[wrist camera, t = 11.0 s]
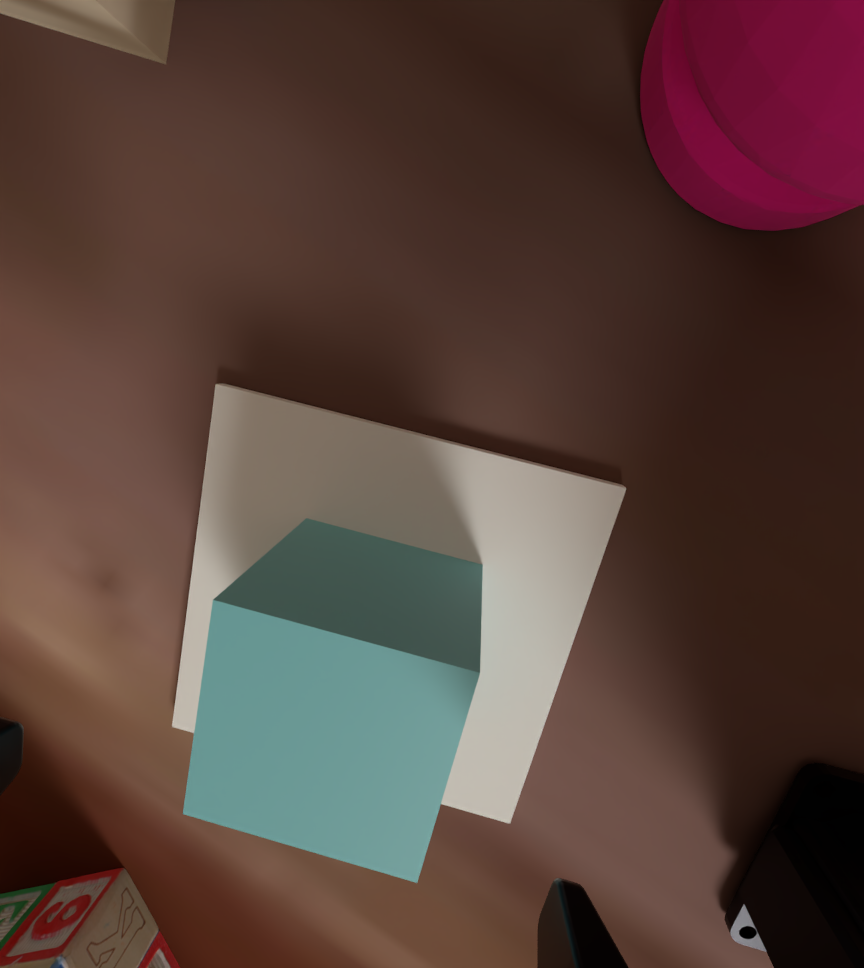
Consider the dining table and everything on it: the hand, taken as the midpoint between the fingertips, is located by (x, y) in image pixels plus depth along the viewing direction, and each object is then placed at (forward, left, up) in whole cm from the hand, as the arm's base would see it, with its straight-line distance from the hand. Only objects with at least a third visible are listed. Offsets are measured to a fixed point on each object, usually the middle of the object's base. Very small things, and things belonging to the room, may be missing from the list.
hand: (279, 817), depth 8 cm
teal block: (0, 0, -7) cm, 7 cm away
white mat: (0, 0, -7) cm, 7 cm away
